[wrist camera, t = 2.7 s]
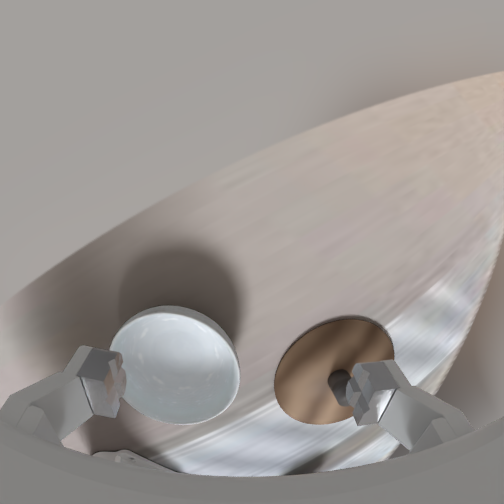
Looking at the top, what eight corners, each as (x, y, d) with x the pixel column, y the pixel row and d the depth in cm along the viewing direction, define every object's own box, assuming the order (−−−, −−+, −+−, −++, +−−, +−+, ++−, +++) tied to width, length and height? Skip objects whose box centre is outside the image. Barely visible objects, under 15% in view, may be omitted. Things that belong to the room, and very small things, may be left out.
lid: (411, 337, 43) (430, 353, 37) (351, 427, 46) (362, 448, 40) (312, 299, 40) (326, 315, 34) (252, 407, 43) (255, 432, 37)
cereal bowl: (226, 404, 42) (226, 435, 35) (121, 381, 40) (108, 408, 33) (250, 307, 39) (255, 329, 32) (128, 280, 37) (109, 297, 30)
